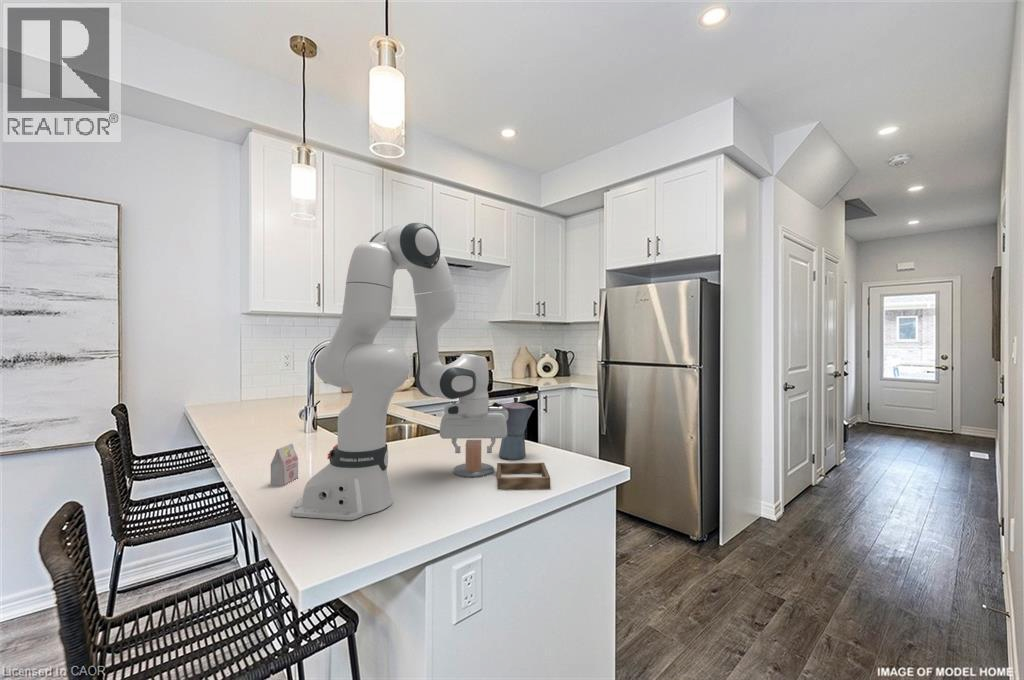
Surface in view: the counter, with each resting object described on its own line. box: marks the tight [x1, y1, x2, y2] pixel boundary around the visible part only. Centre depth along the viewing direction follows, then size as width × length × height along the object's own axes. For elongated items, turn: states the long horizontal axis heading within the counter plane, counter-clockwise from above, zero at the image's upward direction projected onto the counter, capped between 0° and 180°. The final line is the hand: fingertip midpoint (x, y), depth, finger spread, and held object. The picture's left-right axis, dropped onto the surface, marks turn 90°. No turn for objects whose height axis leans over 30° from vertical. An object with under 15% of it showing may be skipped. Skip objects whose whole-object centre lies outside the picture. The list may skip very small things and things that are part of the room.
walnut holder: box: [496, 462, 551, 490], centre depth 126 cm, size 14×14×3 cm
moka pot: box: [490, 397, 535, 461], centre depth 150 cm, size 10×15×20 cm, turn 89°
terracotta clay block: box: [465, 439, 482, 472], centre depth 134 cm, size 8×4×8 cm, turn 3°
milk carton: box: [270, 443, 299, 487], centre depth 124 cm, size 4×7×10 cm, turn 173°
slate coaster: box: [453, 462, 495, 479], centre depth 134 cm, size 12×12×1 cm
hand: (473, 452), depth 134 cm, fingers open, 8 cm apart
